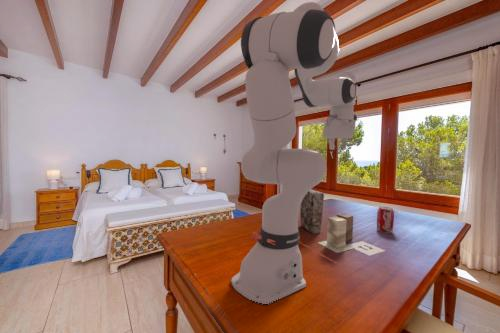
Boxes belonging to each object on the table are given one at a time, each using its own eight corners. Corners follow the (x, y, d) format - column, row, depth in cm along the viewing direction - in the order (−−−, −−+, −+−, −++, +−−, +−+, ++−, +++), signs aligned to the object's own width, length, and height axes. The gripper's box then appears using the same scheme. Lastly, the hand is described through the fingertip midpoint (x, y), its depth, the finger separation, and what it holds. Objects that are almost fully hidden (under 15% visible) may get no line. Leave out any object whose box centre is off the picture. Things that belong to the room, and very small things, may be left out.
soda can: (396, 233, 103) (397, 209, 103) (386, 234, 101) (387, 210, 100) (382, 228, 110) (383, 205, 109) (373, 230, 107) (374, 206, 107)
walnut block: (352, 240, 94) (353, 215, 93) (346, 242, 91) (347, 217, 90) (341, 236, 98) (342, 213, 97) (335, 238, 95) (336, 214, 94)
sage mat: (354, 249, 84) (354, 247, 84) (337, 254, 79) (337, 252, 79) (334, 240, 93) (334, 238, 92) (317, 244, 88) (317, 242, 88)
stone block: (324, 233, 101) (325, 192, 100) (312, 234, 99) (313, 192, 98) (307, 224, 114) (309, 188, 113) (296, 225, 111) (297, 188, 110)
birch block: (345, 246, 85) (346, 219, 84) (336, 248, 82) (337, 221, 82) (335, 241, 89) (336, 216, 89) (326, 243, 87) (327, 217, 86)
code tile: (385, 252, 82) (385, 250, 82) (369, 257, 78) (369, 255, 78) (361, 242, 91) (361, 241, 91) (346, 246, 87) (346, 244, 87)
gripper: (336, 113, 77) (332, 150, 80) (359, 117, 91) (355, 148, 93) (320, 114, 82) (317, 149, 84) (344, 117, 95) (341, 147, 98)
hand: (337, 149), depth 89 cm, fingers open, 8 cm apart
